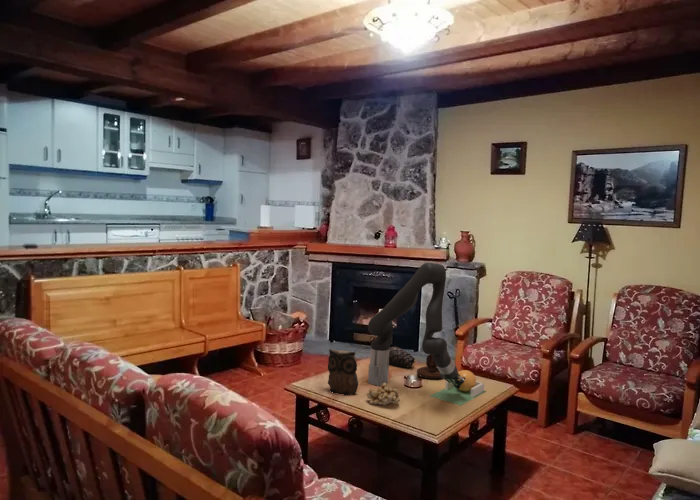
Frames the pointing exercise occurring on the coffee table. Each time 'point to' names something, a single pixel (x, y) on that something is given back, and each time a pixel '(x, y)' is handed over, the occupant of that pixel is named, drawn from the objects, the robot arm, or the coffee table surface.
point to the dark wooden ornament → (429, 368)
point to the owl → (342, 372)
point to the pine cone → (400, 358)
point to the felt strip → (454, 396)
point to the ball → (467, 380)
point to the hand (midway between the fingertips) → (458, 386)
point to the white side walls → (474, 391)
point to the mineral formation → (383, 395)
